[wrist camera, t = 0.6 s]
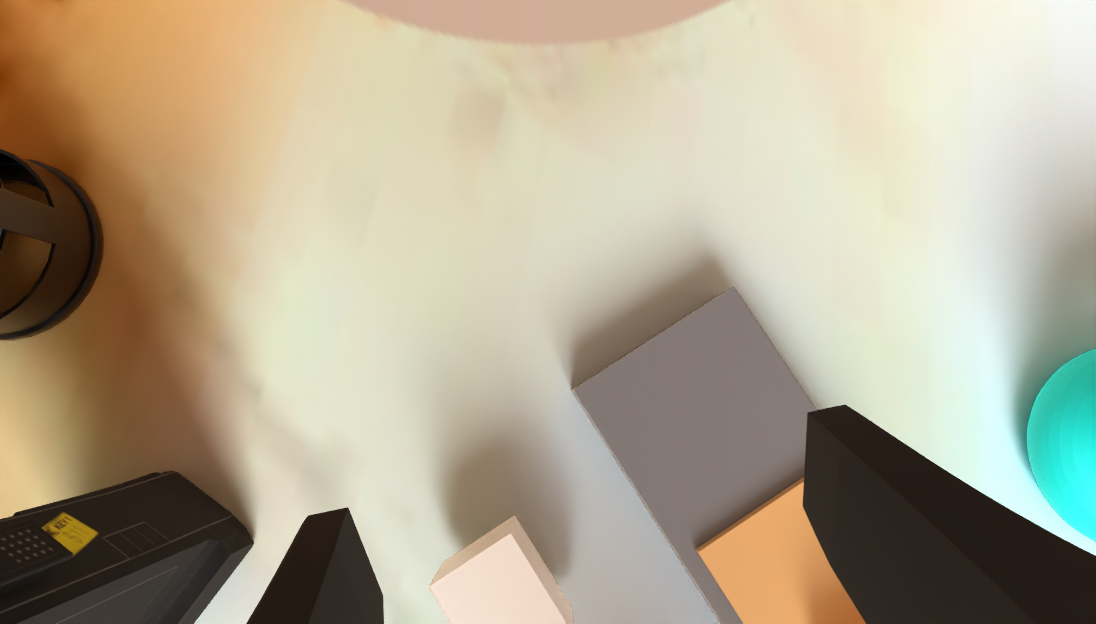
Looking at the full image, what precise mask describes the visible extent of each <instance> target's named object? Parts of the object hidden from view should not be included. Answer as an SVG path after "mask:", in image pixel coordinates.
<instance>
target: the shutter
mask: <svg viewBox="0 0 1096 624" xmlns="http://www.w3.org/2000/svg"><path fill="white" fill-rule="evenodd" d="M803 487H804V477H803V478H801V479H800V480H798V481H797V482H795V483H794V484H792V485H791V486H789V487H788V488H786V489H785V490H783V491H782V492H780V493H779V494H777V495H776V496H774V497H773V498H771V499H770V500H768V501H767V502H765V503H764V504H762V505H761V506H759V507H758V508H756V509H755V510H753V511H752V512H751V513H749V514H748V515H746V516H745V517H743V518H742V519H740V520H739V521H737V522H736V523H734V524H733V525H731V526H730V527H728V528H727V529H725V530H724V531H722V532H721V533H719V534H718V535H716V536H715V537H713V538H712V539H710V540H709V541H707V542H706V543H704V544H703V545H701V546H700V547H698V548H697V549H695V550H696V551H697V553H698V554H699V556H700V558H701V559H702V561H703V562H704V564H705V565H706V567H707V568H708V570H709V572H710V573H711V575H712V576H713V578H714V579H715V581H716V583H717V584H718V586H719V587H720V589H721V590H722V592H723V593H724V595H725V597H726V598H727V600H728V601H729V603H730V604H731V606H732V607H733V609H734V611H735V612H736V614H737V615H738V617H739V618H740V620H741V621H742V623H743V624H866V623H865V621H864V620H863V618H862V617H861V615H860V613H859V612H858V610H857V609H856V607H855V605H854V604H853V602H852V600H851V599H850V597H849V596H848V594H847V592H846V591H845V589H844V587H843V586H842V584H841V583H840V581H839V579H838V578H837V576H836V574H835V573H834V571H833V569H832V568H831V566H830V564H829V562H828V560H827V558H826V556H825V554H824V552H823V550H822V548H821V546H820V543H819V541H818V539H817V537H816V535H815V533H814V531H813V528H812V526H811V524H810V522H809V519H808V517H807V515H806V513H805V511H804V508H803Z"/></svg>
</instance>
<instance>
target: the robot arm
mask: <svg viewBox="0 0 1096 624" xmlns="http://www.w3.org/2000/svg"><path fill="white" fill-rule="evenodd" d="M803 508H804V511H805V513H806V515H807V517H808V519H809V522H810V524H811V526H812V528H813V531H814V533H815V535H816V537H817V539H818V541H819V543H820V546H821V548H822V550H823V552H824V554H825V556H826V558H827V560H828V562H829V564H830V566H831V568H832V569H833V571H834V573H835V574H836V576H837V578H838V579H839V581H840V583H841V584H842V586H843V587H844V589H845V591H846V592H847V594H848V596H849V597H850V599H851V600H852V602H853V604H854V605H855V607H856V609H857V610H858V612H859V613H860V615H861V617H862V618H863V620H864V621H865V623H866V624H1096V556H1095V555H1093V554H1091V553H1089V552H1087V551H1085V550H1083V549H1081V548H1079V547H1077V546H1075V545H1073V544H1071V543H1069V542H1067V541H1065V540H1063V539H1062V538H1060V537H1058V536H1056V535H1054V534H1052V533H1050V532H1049V531H1047V530H1045V529H1043V528H1042V527H1040V526H1038V525H1036V524H1034V523H1033V522H1031V521H1029V520H1027V519H1026V518H1024V517H1022V516H1020V515H1018V514H1017V513H1015V512H1013V511H1011V510H1010V509H1008V508H1006V507H1004V506H1003V505H1001V504H999V503H998V502H996V501H994V500H993V499H991V498H989V497H988V496H986V495H984V494H983V493H981V492H979V491H978V490H976V489H974V488H973V487H971V486H969V485H968V484H966V483H965V482H963V481H961V480H960V479H958V478H957V477H955V476H953V475H952V474H950V473H949V472H947V471H946V470H944V469H942V468H941V467H939V466H938V465H936V464H935V463H933V462H932V461H930V460H928V459H927V458H925V457H924V456H922V455H921V454H919V453H918V452H916V451H915V450H913V449H912V448H910V447H909V446H907V445H906V444H904V443H903V442H901V441H900V440H898V439H897V438H895V437H894V436H892V435H891V434H889V433H888V432H886V431H885V430H883V429H882V428H880V427H879V426H877V425H876V424H874V423H873V422H871V421H870V420H868V419H867V418H865V417H864V416H862V415H861V414H859V413H858V412H856V411H854V410H853V409H851V408H850V407H848V406H847V405H841V406H836V407H831V408H826V409H822V410H817V411H812V412H807V431H806V450H805V469H804V487H803ZM247 624H384V613H383V594H382V592H381V589H380V587H379V584H378V582H377V579H376V577H375V574H374V572H373V569H372V566H371V564H370V561H369V559H368V556H367V554H366V551H365V549H364V546H363V544H362V541H361V539H360V536H359V534H358V531H357V529H356V526H355V524H354V521H353V519H352V516H351V514H350V511H349V509H348V508H343V509H338V510H333V511H328V512H324V513H319V514H314V515H309V516H308V517H307V518H306V519H305V521H304V522H303V523H302V525H301V527H300V529H299V531H298V533H297V534H296V536H295V538H294V540H293V542H292V544H291V546H290V547H289V549H288V551H287V553H286V555H285V557H284V559H283V560H282V562H281V564H280V566H279V568H278V569H277V571H276V573H275V575H274V577H273V578H272V580H271V582H270V584H269V586H268V587H267V589H266V591H265V593H264V595H263V596H262V598H261V600H260V602H259V603H258V605H257V607H256V608H255V610H254V612H253V613H252V615H251V617H250V618H249V620H248V622H247Z"/></svg>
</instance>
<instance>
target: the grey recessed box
mask: <svg viewBox="0 0 1096 624" xmlns="http://www.w3.org/2000/svg"><path fill="white" fill-rule="evenodd" d="M571 391H572V392H573V394H574V395H575V397H576V399H577V400H578V402H579V403H580V405H581V406H582V408H583V410H584V411H585V413H586V414H587V416H588V417H589V419H590V421H591V422H592V424H593V425H594V427H595V428H596V430H597V431H598V433H599V435H600V436H601V438H602V439H603V441H604V442H605V444H606V446H607V447H608V449H609V450H610V452H611V453H612V455H613V457H614V458H615V460H616V461H617V463H618V464H619V466H620V468H621V469H622V471H623V472H624V474H625V475H626V477H627V478H628V480H629V482H630V483H631V485H632V486H633V488H634V489H635V491H636V493H637V494H638V496H639V497H640V499H641V500H642V502H643V504H644V505H645V507H646V508H647V510H648V511H649V513H650V514H651V516H652V518H653V519H654V521H655V522H656V524H657V525H658V527H659V529H660V530H661V532H662V533H663V535H664V536H665V538H666V540H667V541H668V543H669V544H670V546H671V547H672V549H673V550H674V552H675V554H676V555H677V557H678V558H679V560H680V561H681V563H682V565H683V566H684V568H685V569H686V571H687V572H688V574H689V576H690V577H691V579H692V580H693V582H694V583H695V585H696V586H697V588H698V590H699V591H700V593H701V594H702V596H703V597H704V599H705V601H706V602H707V604H708V605H709V607H710V608H711V610H712V612H713V613H714V615H715V616H716V618H717V619H718V621H719V622H720V624H743V623H742V621H741V620H740V618H739V617H738V615H737V614H736V612H735V611H734V609H733V607H732V606H731V604H730V603H729V601H728V600H727V598H726V597H725V595H724V593H723V592H722V590H721V589H720V587H719V586H718V584H717V583H716V581H715V579H714V578H713V576H712V575H711V573H710V572H709V570H708V568H707V567H706V565H705V564H704V562H703V561H702V559H701V558H700V556H699V554H698V553H697V551H696V550H695V549H697V548H698V547H700V546H701V545H703V544H704V543H706V542H707V541H709V540H710V539H712V538H713V537H715V536H716V535H718V534H719V533H721V532H722V531H724V530H725V529H727V528H728V527H730V526H731V525H733V524H734V523H736V522H737V521H739V520H740V519H742V518H743V517H745V516H746V515H748V514H749V513H751V512H752V511H753V510H755V509H756V508H758V507H759V506H761V505H762V504H764V503H765V502H767V501H768V500H770V499H771V498H773V497H774V496H776V495H777V494H779V493H780V492H782V491H783V490H785V489H786V488H788V487H789V486H791V485H792V484H794V483H795V482H797V481H798V480H800V479H801V478H803V477H804V469H805V450H806V431H807V412H812V411H817V410H816V408H815V407H814V405H813V404H812V402H811V401H810V399H809V398H808V396H807V395H806V393H805V392H804V390H803V389H802V387H801V386H800V384H799V383H798V381H797V380H796V378H795V377H794V375H793V374H792V372H791V371H790V369H789V368H788V366H787V365H786V363H785V362H784V360H783V359H782V357H781V356H780V354H779V353H778V352H777V350H776V349H775V347H774V346H773V344H772V343H771V341H770V340H769V338H768V337H767V335H766V334H765V332H764V331H763V329H762V328H761V326H760V325H759V323H758V322H757V320H756V319H755V317H754V316H753V314H752V313H751V311H750V310H749V308H748V307H747V305H746V304H745V302H744V301H743V299H742V298H741V296H740V295H739V293H738V292H737V290H736V289H735V287H732V288H730V289H728V290H727V291H725V292H723V293H721V294H719V295H718V296H716V297H715V298H713V299H712V300H710V301H708V302H707V303H705V304H704V305H702V306H701V307H699V308H698V309H696V310H695V311H693V312H691V313H690V314H688V315H687V316H685V317H684V318H682V319H681V320H679V321H677V322H676V323H674V324H673V325H671V326H670V327H668V328H667V329H665V330H663V331H662V332H660V333H659V334H657V335H656V336H654V337H653V338H651V339H649V340H648V341H646V342H645V343H643V344H642V345H640V346H639V347H637V348H636V349H634V350H632V351H631V352H629V353H628V354H626V355H625V356H623V357H622V358H620V359H618V360H617V361H615V362H614V363H612V364H611V365H609V366H608V367H606V368H604V369H603V370H601V371H600V372H598V373H597V374H595V375H594V376H592V377H591V378H589V379H587V380H586V381H584V382H583V383H581V384H580V385H578V386H577V387H575V388H573V389H572V390H571Z"/></svg>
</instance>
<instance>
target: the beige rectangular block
mask: <svg viewBox="0 0 1096 624" xmlns="http://www.w3.org/2000/svg"><path fill="white" fill-rule="evenodd" d="M429 589H430V591H431V592H432V594H433V596H434V597H435V599H436V601H437V602H438V604H439V606H440V607H441V609H442V611H443V612H444V614H445V616H446V617H447V619H448V621H449V622H450V624H574V620H573V612H572V607H571V605H570V603H569V602H568V600H567V598H566V597H565V595H564V594H563V592H562V590H561V589H560V587H559V586H558V584H557V582H556V581H555V579H554V578H553V576H552V574H551V573H550V571H549V569H548V568H547V566H546V565H545V563H544V561H543V560H542V558H541V557H540V555H539V553H538V552H537V550H536V548H535V547H534V545H533V544H532V542H531V540H530V539H529V537H528V536H527V534H526V532H525V531H524V529H523V527H522V526H521V524H520V523H519V521H518V519H517V518H516V516H515V515H514V516H513V517H511V518H510V519H508V520H506V521H505V522H503V523H502V524H500V525H499V526H497V527H496V528H494V529H493V530H491V531H490V532H488V533H487V534H485V535H484V536H482V537H480V538H479V539H477V540H476V541H474V542H473V543H471V544H470V545H468V546H467V547H465V548H464V549H462V550H461V551H459V552H458V553H456V554H454V555H453V556H451V557H450V558H448V559H447V560H445V561H444V562H443V563H442V565H441V566H440V568H439V570H438V571H437V573H436V575H435V577H434V578H433V580H432V582H431V583H430V585H429Z"/></svg>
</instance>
